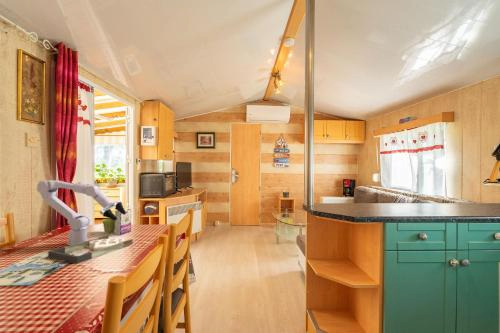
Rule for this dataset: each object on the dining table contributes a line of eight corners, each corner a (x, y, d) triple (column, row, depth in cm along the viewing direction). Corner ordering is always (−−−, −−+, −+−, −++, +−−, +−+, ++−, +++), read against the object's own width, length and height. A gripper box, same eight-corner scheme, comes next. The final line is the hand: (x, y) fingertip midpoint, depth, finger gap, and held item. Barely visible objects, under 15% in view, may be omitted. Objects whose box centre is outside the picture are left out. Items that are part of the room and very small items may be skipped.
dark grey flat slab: (48, 257, 132) (48, 251, 132) (63, 252, 139) (63, 247, 139) (77, 263, 125) (77, 257, 125) (91, 258, 132) (91, 252, 132)
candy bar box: (124, 231, 188) (125, 208, 188) (131, 231, 187) (131, 208, 187) (113, 234, 177) (114, 210, 177) (120, 235, 176) (121, 211, 176)
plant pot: (112, 234, 179) (112, 221, 179) (98, 233, 179) (99, 221, 179) (119, 230, 188) (119, 218, 188) (106, 230, 188) (106, 218, 189)
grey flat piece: (63, 252, 139) (63, 247, 139) (107, 240, 165) (107, 235, 165) (91, 258, 132) (91, 252, 132) (132, 244, 158) (132, 239, 158)
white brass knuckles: (86, 252, 142) (90, 244, 156) (123, 249, 150) (124, 242, 163) (87, 246, 142) (90, 239, 156) (123, 243, 150) (124, 236, 163)
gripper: (97, 201, 147) (115, 218, 148) (115, 192, 161) (131, 207, 161) (91, 209, 150) (109, 225, 150) (110, 199, 163) (126, 214, 164)
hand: (120, 216), depth 156 cm, fingers open, 7 cm apart
